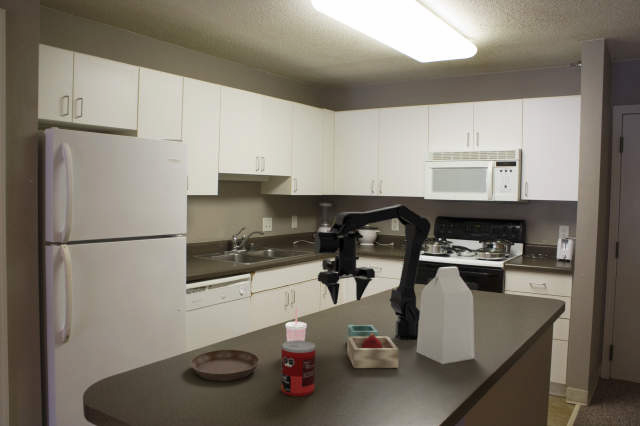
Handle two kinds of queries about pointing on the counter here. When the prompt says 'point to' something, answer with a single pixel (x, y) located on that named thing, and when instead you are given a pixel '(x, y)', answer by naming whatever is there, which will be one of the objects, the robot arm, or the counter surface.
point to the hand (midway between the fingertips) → (346, 302)
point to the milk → (446, 318)
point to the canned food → (298, 368)
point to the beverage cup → (296, 330)
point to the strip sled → (370, 349)
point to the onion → (372, 342)
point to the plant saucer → (225, 364)
